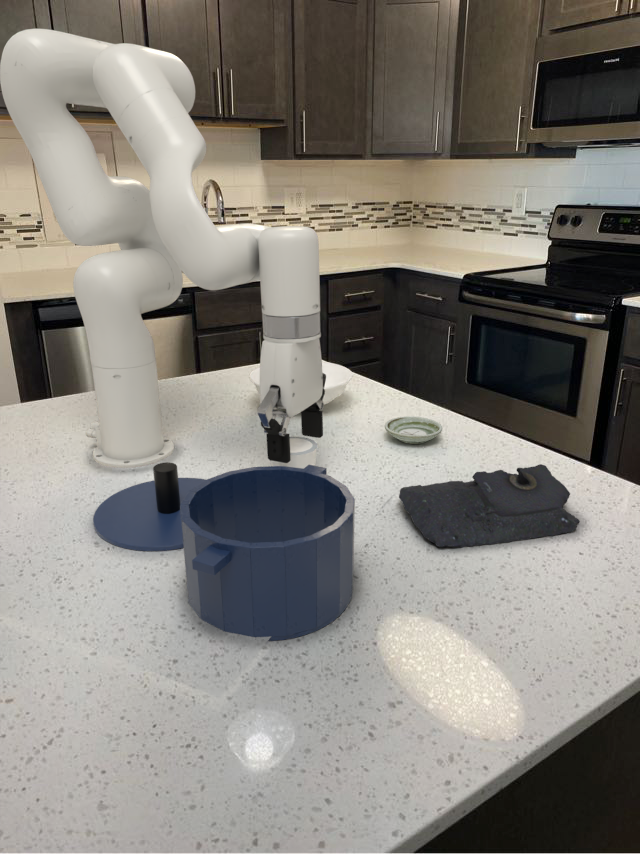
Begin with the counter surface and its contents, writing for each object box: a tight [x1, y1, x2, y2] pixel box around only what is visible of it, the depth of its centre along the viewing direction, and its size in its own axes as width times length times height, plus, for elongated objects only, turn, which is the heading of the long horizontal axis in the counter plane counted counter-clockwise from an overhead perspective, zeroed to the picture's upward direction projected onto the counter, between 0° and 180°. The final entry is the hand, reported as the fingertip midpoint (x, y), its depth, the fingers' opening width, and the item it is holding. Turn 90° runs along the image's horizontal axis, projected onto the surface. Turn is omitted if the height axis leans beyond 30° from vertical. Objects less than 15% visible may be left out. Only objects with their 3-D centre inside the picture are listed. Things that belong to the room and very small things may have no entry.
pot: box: [180, 465, 356, 642], centre depth 70 cm, size 18×23×10 cm
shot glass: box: [269, 436, 318, 469], centre depth 93 cm, size 7×7×7 cm
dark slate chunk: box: [398, 463, 581, 548], centre depth 87 cm, size 15×22×5 cm
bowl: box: [248, 361, 354, 406], centre depth 128 cm, size 20×20×6 cm
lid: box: [92, 462, 206, 552], centre depth 86 cm, size 19×19×7 cm
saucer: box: [384, 416, 443, 445], centre depth 112 cm, size 10×10×2 cm
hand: (296, 448), depth 92 cm, fingers open, 9 cm apart
